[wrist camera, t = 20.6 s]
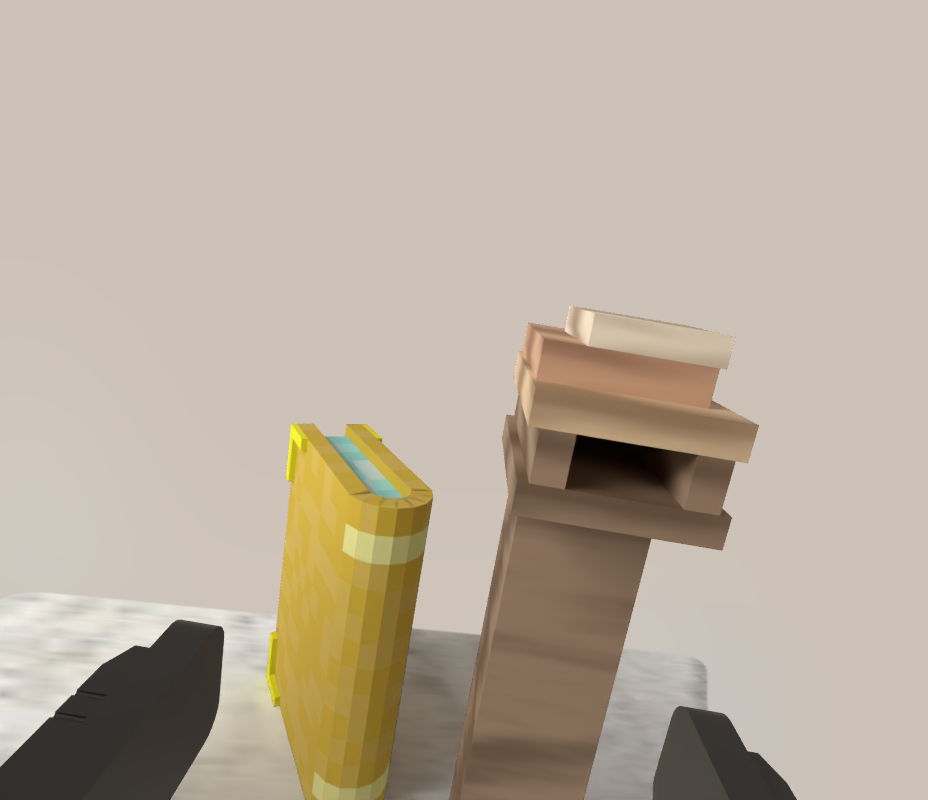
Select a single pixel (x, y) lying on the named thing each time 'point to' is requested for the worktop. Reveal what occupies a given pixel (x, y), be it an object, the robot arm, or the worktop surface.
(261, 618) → the worktop surface
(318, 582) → the book
